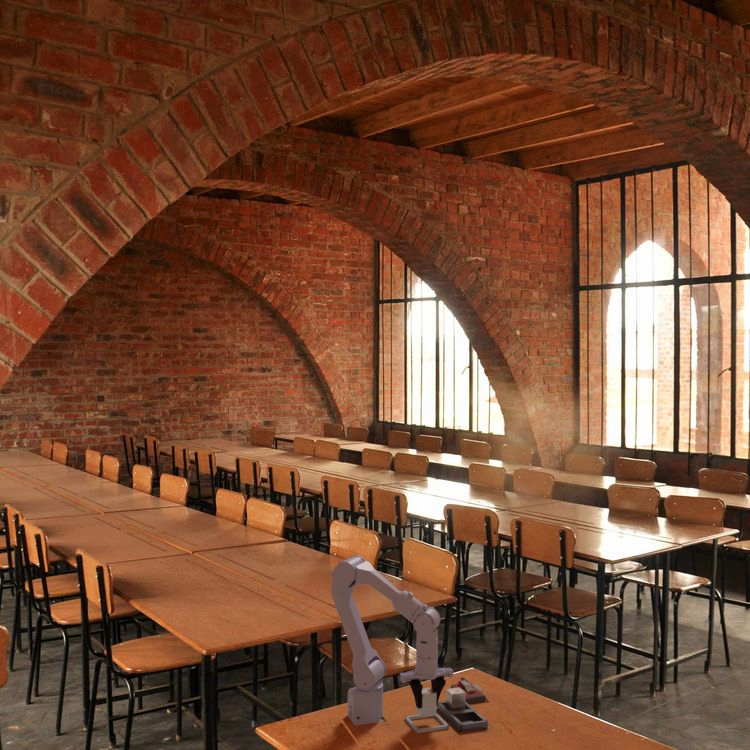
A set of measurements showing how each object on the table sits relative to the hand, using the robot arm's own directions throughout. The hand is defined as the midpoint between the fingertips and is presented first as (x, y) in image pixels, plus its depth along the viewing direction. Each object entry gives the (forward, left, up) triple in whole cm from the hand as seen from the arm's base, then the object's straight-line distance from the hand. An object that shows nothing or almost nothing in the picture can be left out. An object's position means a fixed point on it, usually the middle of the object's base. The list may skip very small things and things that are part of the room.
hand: (426, 706), depth 222 cm
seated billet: (+11, +4, -5) cm, 12 cm away
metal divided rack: (+11, 0, -6) cm, 12 cm away
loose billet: (0, 0, -2) cm, 2 cm away
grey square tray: (0, 0, -6) cm, 6 cm away
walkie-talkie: (+20, +18, -7) cm, 28 cm away
